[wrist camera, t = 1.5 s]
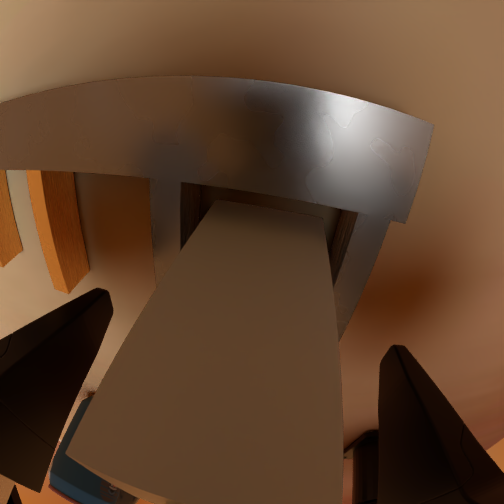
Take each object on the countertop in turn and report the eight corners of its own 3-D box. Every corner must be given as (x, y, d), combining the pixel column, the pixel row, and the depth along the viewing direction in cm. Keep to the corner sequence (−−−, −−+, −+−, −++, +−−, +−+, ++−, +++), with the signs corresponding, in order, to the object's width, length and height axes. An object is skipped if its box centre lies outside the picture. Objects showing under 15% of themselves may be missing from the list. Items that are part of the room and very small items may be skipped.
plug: (296, 311, 12) (270, 556, 4) (211, 294, 12) (126, 523, 4) (322, 218, 10) (333, 577, 1) (216, 199, 10) (43, 504, 2)
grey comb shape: (339, 322, 12) (343, 356, 11) (10, 245, 13) (-9, 262, 12) (408, 117, 7) (434, 124, 6) (-12, 109, 9) (-38, 118, 7)
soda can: (80, 395, 24) (39, 479, 14) (96, 385, 21) (46, 489, 11) (130, 428, 26) (98, 510, 16) (156, 423, 23) (121, 525, 13)
